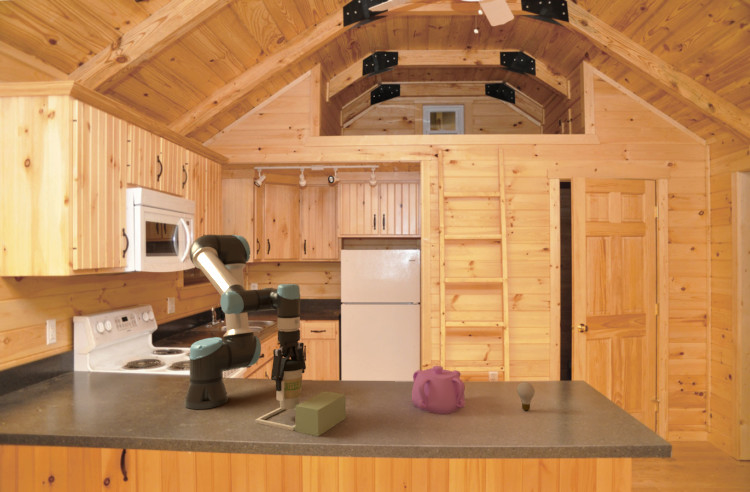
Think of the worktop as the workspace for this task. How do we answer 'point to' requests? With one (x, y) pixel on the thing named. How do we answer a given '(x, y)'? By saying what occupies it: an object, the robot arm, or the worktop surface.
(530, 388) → the light bulb
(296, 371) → the coffee cup
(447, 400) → the pink pot with handles
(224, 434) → the worktop surface
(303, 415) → the green block with frame
